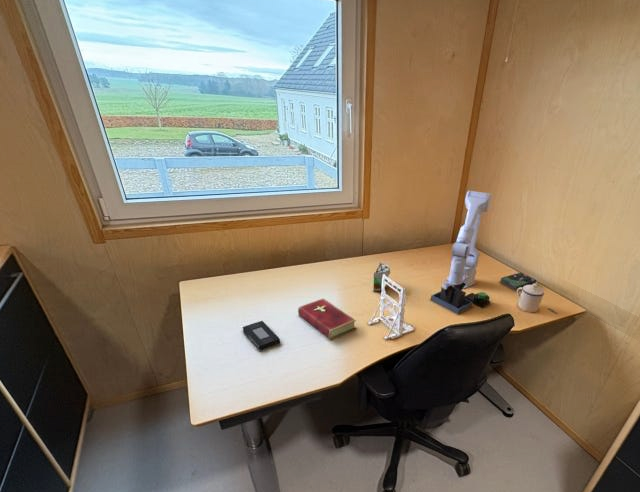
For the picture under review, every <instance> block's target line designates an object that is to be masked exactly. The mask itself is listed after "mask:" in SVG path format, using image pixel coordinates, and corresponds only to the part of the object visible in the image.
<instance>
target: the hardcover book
mask: <svg viewBox="0 0 640 492" xmlns="http://www.w3.org/2000/svg"><path fill="white" fill-rule="evenodd" d="M297 315H298V316H299V317H300V318H301V319H303V320H304V321H306V322H307V323H308V324H309V325H311V326H312V327H313V328H315V329H316V330H317V331H318V332H320V333H321V334H323V335H324V336H325V337H326V338H327V339H329V340H330V341H332V340H334V339H336V338H338V337H340V336H342V335H345V334H347V333H349V332H350V333H351V332H352V331H354V330H356V327H355V322H356V321H357V320H356V319H355V318H353V317H352V316H351V315H349V314H347V313H345V312H344V311H343V310H342V309H340V308H338V307H337V306H335V305H334V304H333V303H331V302H330V301H329V300H327V299H325V298H320V299H317V300H315V301H312V302H309V303H305V304H303V305H300V306H299V307H298V308H297Z"/></svg>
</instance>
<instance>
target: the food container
mask: <svg viewBox="0 0 640 492" xmlns="http://www.w3.org/2000/svg"><path fill="white" fill-rule="evenodd" d="M383 274H385V276H387V277H388V278H389V276H390V274H391V269H390V266H389V265H388V264H386V263H383V262H379V265H378V267H377V268H376V270H375V272H373V293H382V278H383ZM385 281H386V282H387V283H388V280H386V279H385ZM387 286H388V285H387V284H386V286H385V291H386V290H387Z"/></svg>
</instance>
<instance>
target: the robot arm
mask: <svg viewBox="0 0 640 492" xmlns="http://www.w3.org/2000/svg"><path fill="white" fill-rule="evenodd" d="M491 199H492V194H491V193H490V192H489V193H488V192H483V191H482V192H480V191H475V190H471V189H469V190H468V191H467V192H466V195H465V199H464V204H465V208H466V209H467V213H466V217H465V222H464V224H463V225H462V226H460V229H459V231H458V235H457V237H456V241H455V242H454V243H453V245H452V248H451V258H450V260H451V264H450V269H449V274H448V276H447V277H446V281H445V282H443V283H442V286H441V287H442V288H444V290H445V295H446V300H447V301H449V302H450V301H451V299H452V296H453V293H454V292H455V290H456V289H455V288H457V289H459V290H462V291H463V289H467V288H469V287H471V286H474V285H475V284H476V282H475V281H476V280H475V279H476V274H477V266H478V263H479V258H480V252H479V250H478V249H477V248H476V243H477V238H478V234H479V230H480V229H479V228H480V224H481V219H482V215H483V214H484V213H486V212H488V211H489V208H490V204H491V202H492V201H491ZM452 286H453V287H455V288H453V287H452Z"/></svg>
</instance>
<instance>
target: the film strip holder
mask: <svg viewBox="0 0 640 492" xmlns="http://www.w3.org/2000/svg"><path fill="white" fill-rule="evenodd" d="M385 279H386V280H388V281H387V282H386V281H385ZM390 283H391V284H390ZM386 284H387V286H388V287H389V288H391V289H392V290H394V291H395V292H396V293H397V294H398V297H399V301H398V302H397V301H396V300H395V299H393V297H391V296H389V295H388V294H387V292H386V290H385V286H386ZM394 286H395V287H396V288H395V287H394ZM399 290H400V291H399ZM406 298H407V295H406V288H405V287H402V286H401V285H400V284H398V283H397V282H395V281H394V280H392V278H390V277H389V276H388V277H387V276H385V274H383V278H382V292H380V297H379V300H380V301H379V303H378V305H377V307H376V309H375V310H374V313H373V315H372V317H371V319H370V321H368V322H367V323H368V325H369V326H370V325H371V326H372V325H374V324H377V323H379V322H380V321H381V322H382V323H383V324H384V325H385V326H386V327H387V328H389V331H388V333H387V335H385V336H384V340H385V341H386V340H389V339H391V340H394V339H397V338H399V337H402V336H403V335H405V334H408V333H411V332H414V331H415V329H414V327H413V326H412V325H411V324H407V322H404V323H403V321H404V318H405V317H404V316H405V309H404V307H405V306H406ZM385 299H386V300H387V302H386V301H385ZM390 303H391V304H392V307H391V304H390ZM396 308H397V311H396ZM385 309H386V310H387V311H388V312H389V313H391V314H390V315H387V316H385V312H384V310H385ZM378 310H379V317H376V314H377V312H378ZM391 319H392V320H391ZM403 329H404V331H403ZM392 332H393V333H392ZM391 333H392V334H391Z"/></svg>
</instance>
